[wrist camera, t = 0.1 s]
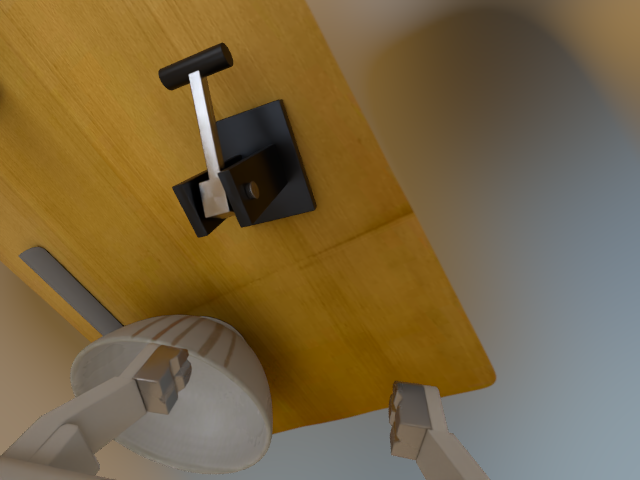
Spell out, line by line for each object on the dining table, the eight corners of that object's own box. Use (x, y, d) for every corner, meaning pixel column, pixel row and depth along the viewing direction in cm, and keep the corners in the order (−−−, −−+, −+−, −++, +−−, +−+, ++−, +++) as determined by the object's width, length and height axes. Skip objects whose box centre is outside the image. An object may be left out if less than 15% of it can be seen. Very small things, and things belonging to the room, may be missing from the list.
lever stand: (207, 125, 33) (122, 144, 21) (282, 99, 30) (231, 104, 19) (249, 222, 37) (198, 280, 26) (316, 206, 35) (292, 262, 24)
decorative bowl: (230, 251, 40) (179, 310, 29) (321, 382, 49) (308, 463, 38) (102, 307, 48) (27, 369, 38) (201, 409, 58) (162, 482, 47)
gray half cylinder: (116, 341, 52) (109, 349, 50) (24, 253, 45) (12, 259, 44) (132, 334, 50) (124, 342, 49) (39, 242, 44) (27, 248, 42)
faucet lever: (174, 77, 26) (152, 62, 24) (233, 52, 25) (216, 34, 22) (204, 223, 26) (185, 223, 24) (265, 208, 24) (251, 205, 22)
